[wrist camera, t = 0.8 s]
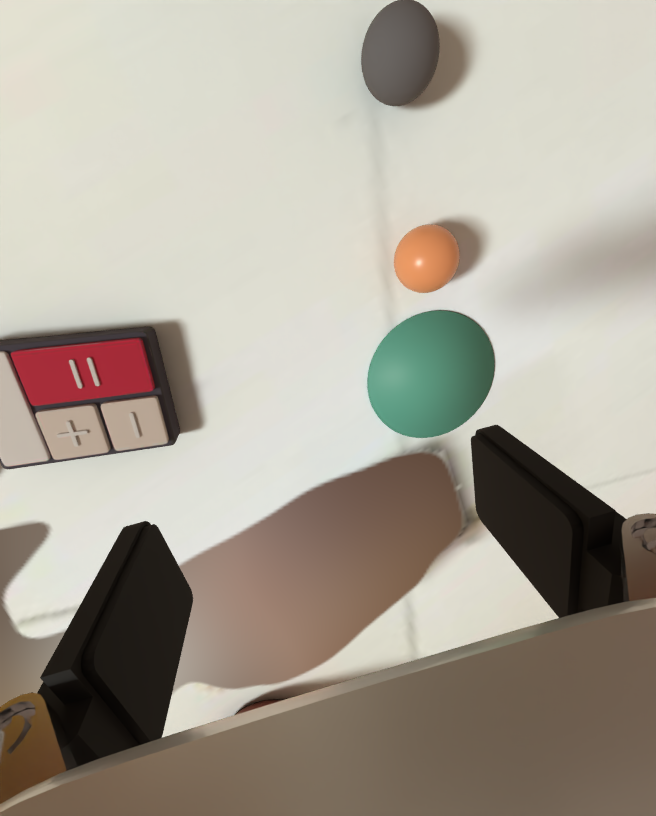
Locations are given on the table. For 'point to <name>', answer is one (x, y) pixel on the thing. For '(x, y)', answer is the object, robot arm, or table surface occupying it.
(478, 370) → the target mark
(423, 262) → the ball
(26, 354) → the calculator
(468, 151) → the table surface
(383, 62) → the ball
